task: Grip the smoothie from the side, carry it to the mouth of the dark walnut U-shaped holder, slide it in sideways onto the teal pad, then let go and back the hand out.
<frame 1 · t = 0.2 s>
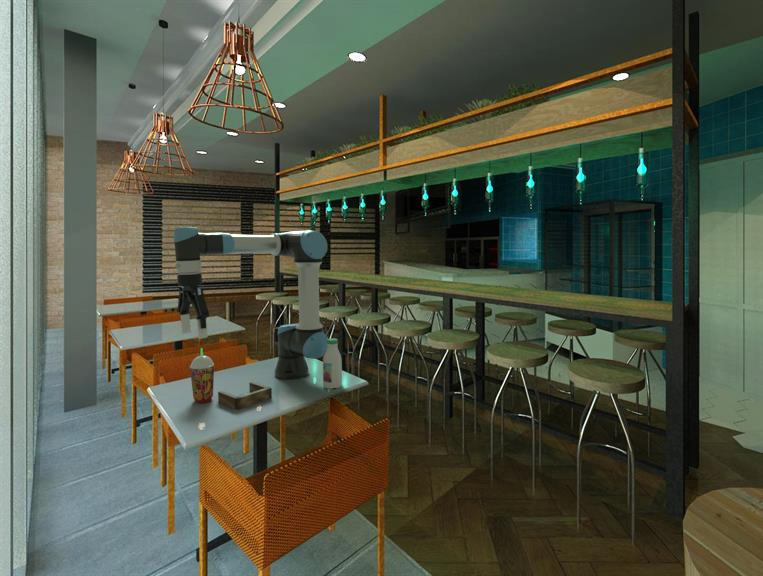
hand: (194, 335, 141), 27 cm above the table, tool pointing down, fingers open, 13 cm apart
milk bottle: (332, 386, 172), on the table
smoothie: (203, 401, 155), on the table
holder: (243, 399, 156), on the table
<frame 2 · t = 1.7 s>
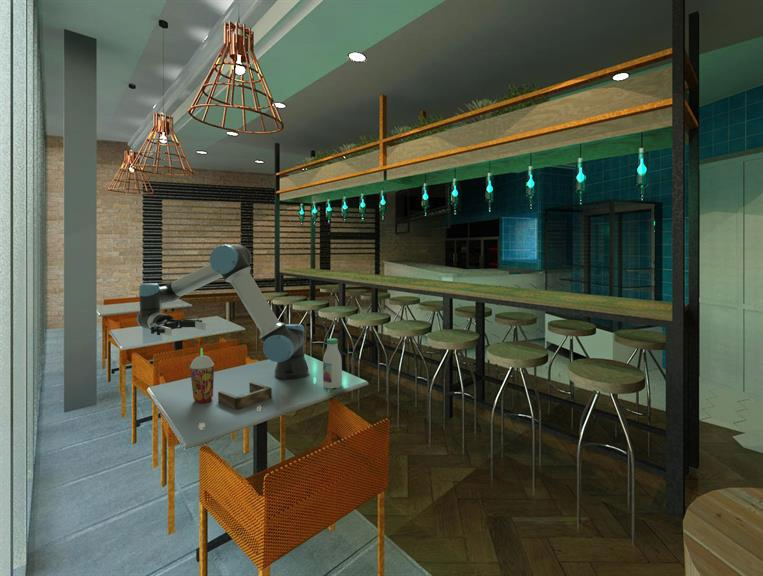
hand: (188, 329, 158), 26 cm above the table, tool horizontal, fingers open, 13 cm apart
nothing on the table moved.
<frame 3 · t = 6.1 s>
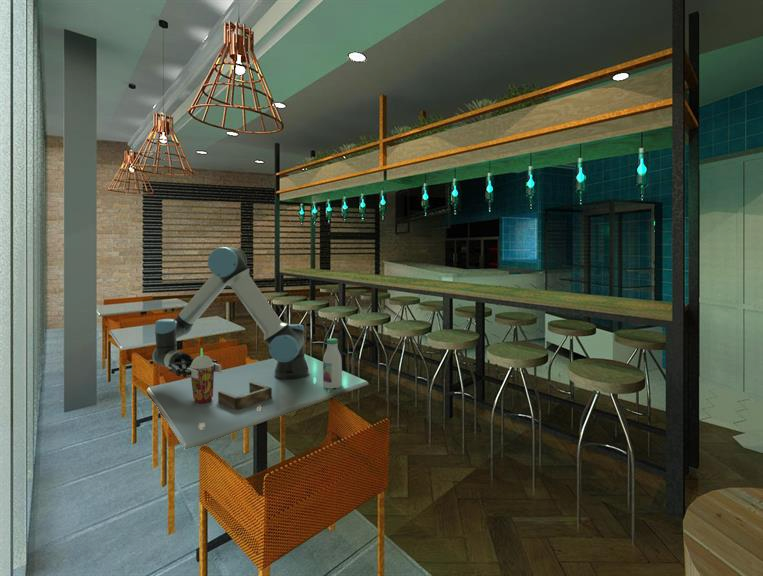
hand: (209, 371, 151), 12 cm above the table, tool horizontal, fingers closed on smoothie, 8 cm apart
smoothie: (203, 401, 155), on the table, touching gripper
everything else where it was.
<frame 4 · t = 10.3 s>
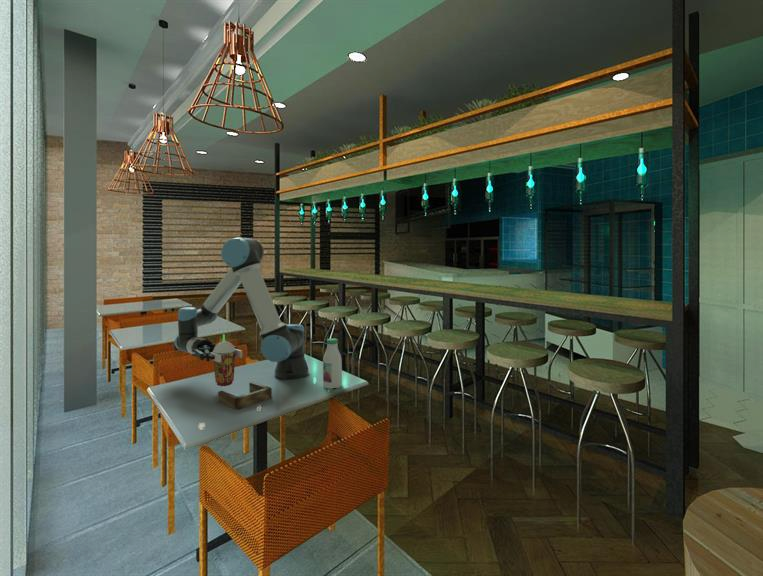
hand: (231, 356, 159), 15 cm above the table, tool horizontal, fingers closed on smoothie, 8 cm apart
smoothie: (224, 384, 163), point 3 cm above the table, touching gripper
everything else where it was.
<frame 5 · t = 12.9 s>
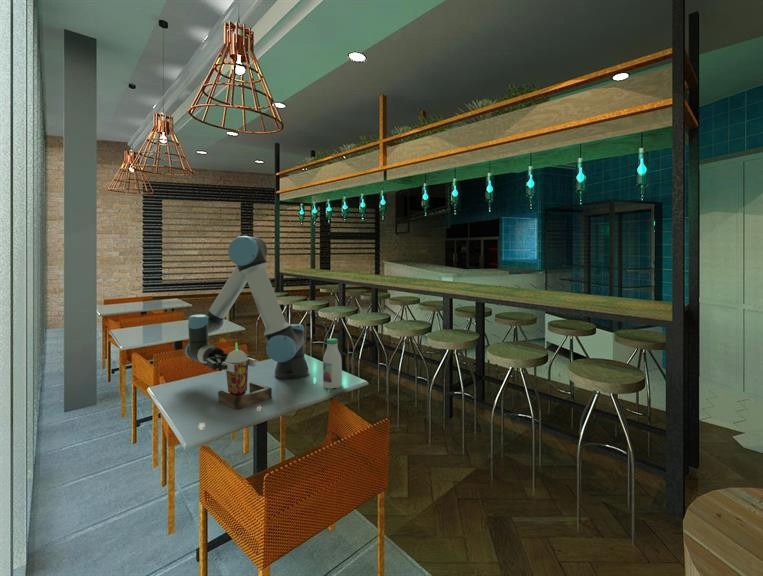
hand: (244, 365, 154), 13 cm above the table, tool horizontal, fingers closed on smoothie, 8 cm apart
smoothie: (237, 394, 158), point 1 cm above the table, touching gripper
everything else where it was.
when the fingers open (13 cm above the table, at t = 14.6 s): smoothie drops 1 cm, resting on holder.
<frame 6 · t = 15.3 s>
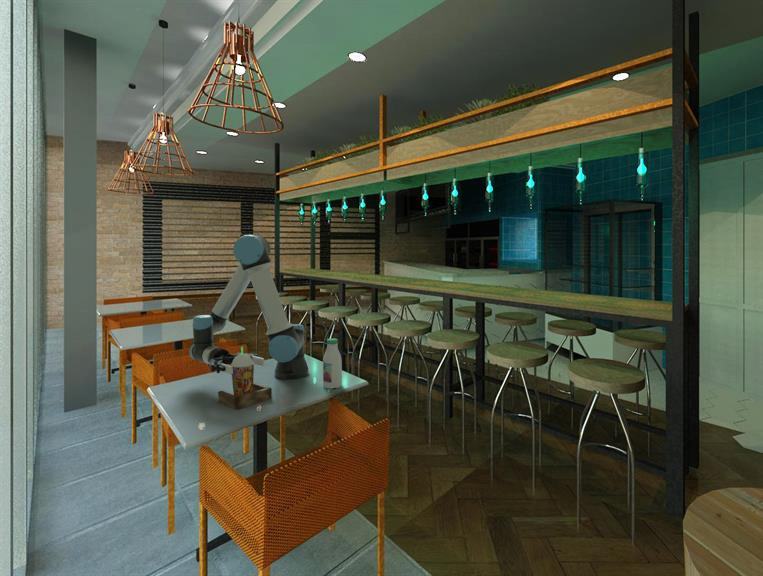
hand: (248, 366, 153), 14 cm above the table, tool horizontal, fingers open, 13 cm apart
smoothie: (243, 399, 156), resting on holder
everything else where it was.
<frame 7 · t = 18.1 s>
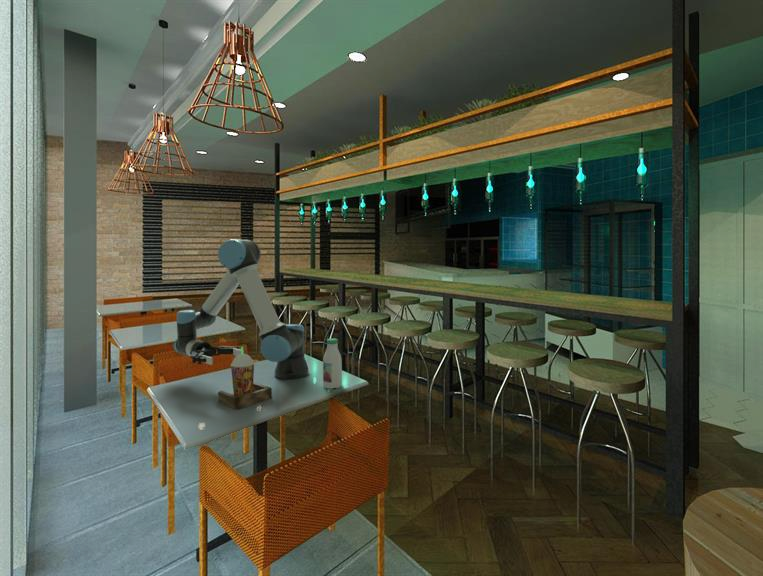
hand: (228, 357, 160), 15 cm above the table, tool horizontal, fingers open, 13 cm apart
nothing on the table moved.
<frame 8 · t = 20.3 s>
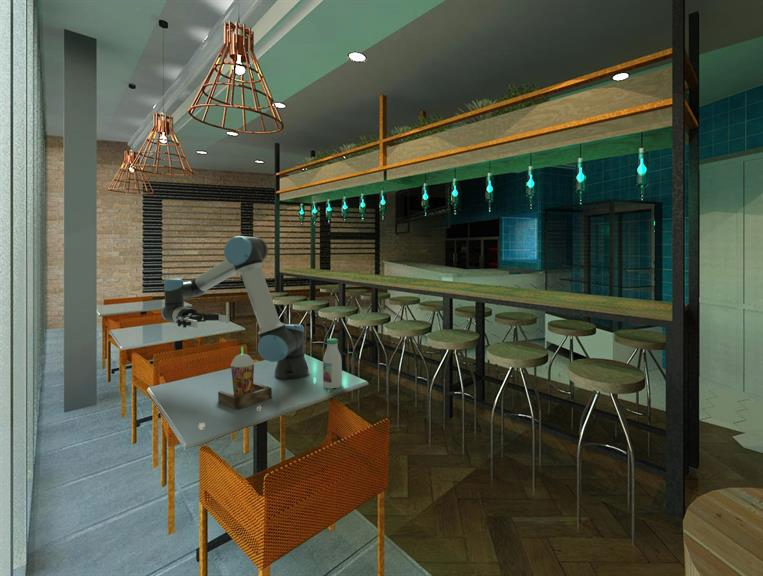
hand: (212, 321, 163), 28 cm above the table, tool horizontal, fingers open, 13 cm apart
nothing on the table moved.
at the end: smoothie 0.1 cm off-centre on the holder, point 0.1 cm above the holder's base; smoothie tilted 0°; smoothie touching holder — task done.
